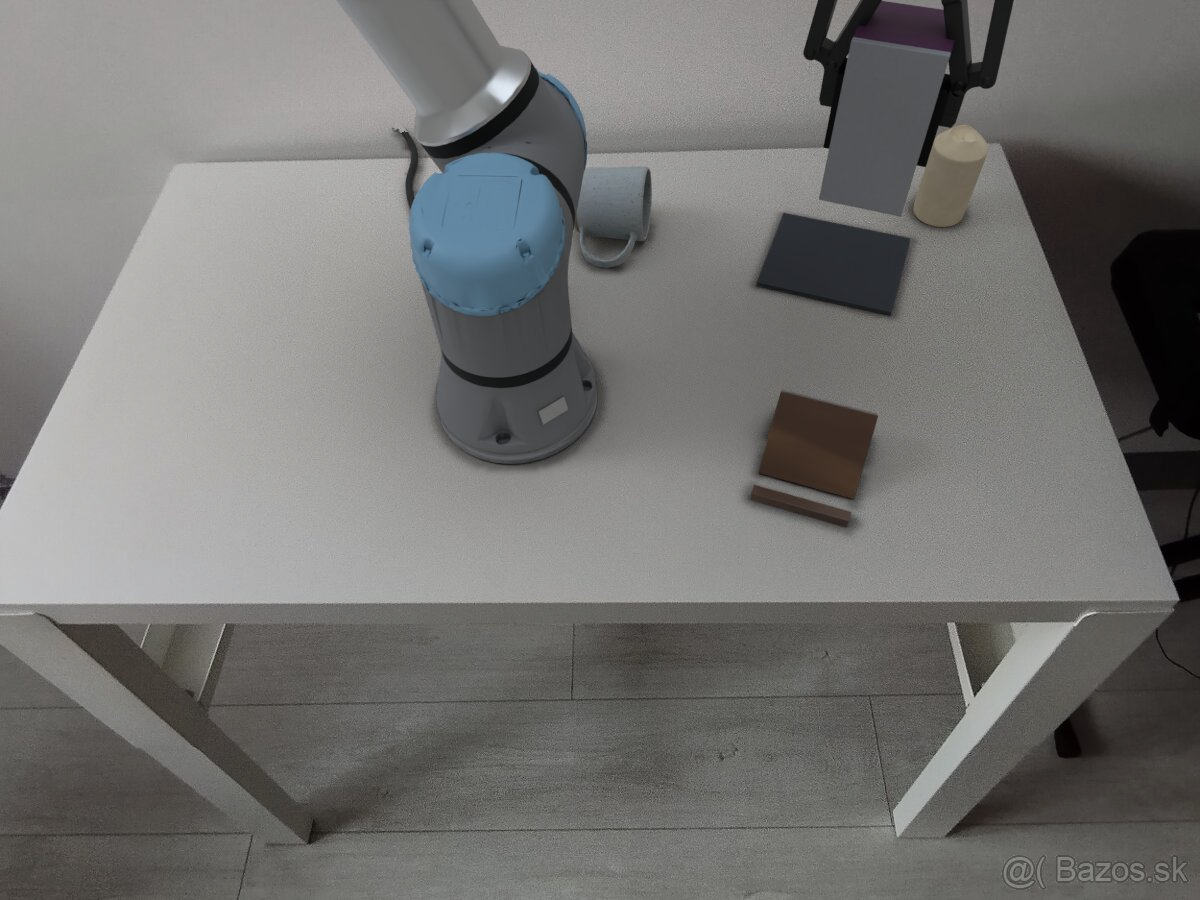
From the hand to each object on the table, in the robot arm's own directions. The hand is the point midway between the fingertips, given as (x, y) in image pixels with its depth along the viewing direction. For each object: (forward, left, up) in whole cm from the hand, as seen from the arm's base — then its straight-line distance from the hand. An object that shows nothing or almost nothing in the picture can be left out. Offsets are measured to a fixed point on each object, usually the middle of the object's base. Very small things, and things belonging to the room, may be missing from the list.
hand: (877, 147), depth 71 cm
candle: (-3, +20, -19) cm, 28 cm away
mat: (-5, +5, -19) cm, 21 cm away
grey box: (-2, +4, -2) cm, 5 cm away
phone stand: (+12, -17, -20) cm, 29 cm away
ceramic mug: (-24, -10, -19) cm, 32 cm away
